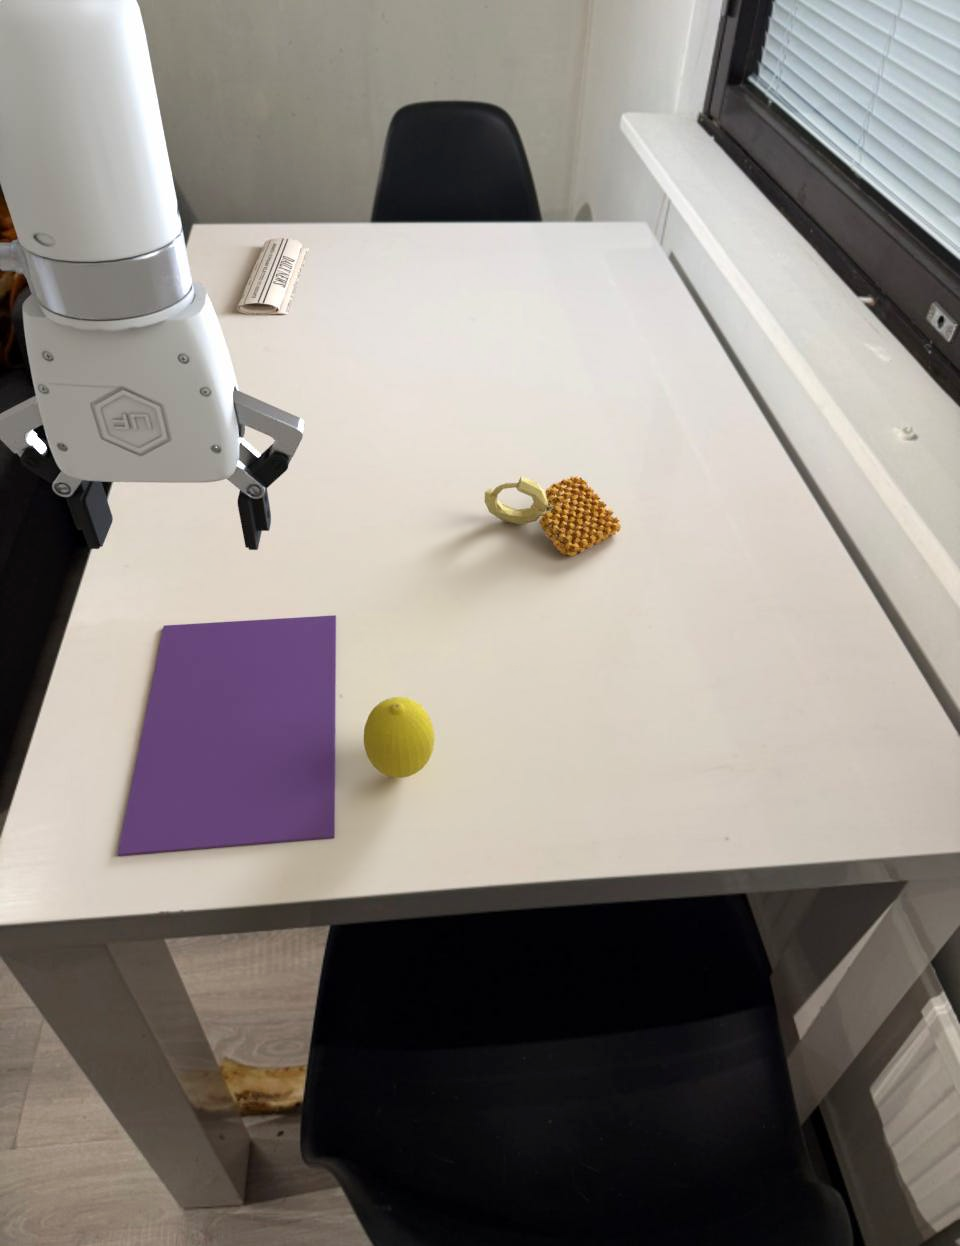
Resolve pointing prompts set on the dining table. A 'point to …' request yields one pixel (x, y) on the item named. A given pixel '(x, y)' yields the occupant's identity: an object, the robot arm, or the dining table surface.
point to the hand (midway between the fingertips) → (179, 535)
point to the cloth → (236, 738)
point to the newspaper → (274, 278)
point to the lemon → (398, 737)
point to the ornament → (560, 512)
